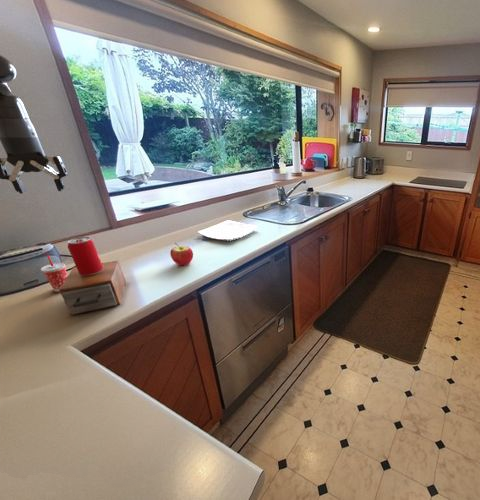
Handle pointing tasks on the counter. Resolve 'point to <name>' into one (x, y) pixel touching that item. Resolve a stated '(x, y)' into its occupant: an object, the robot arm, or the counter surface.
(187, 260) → the apple
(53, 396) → the counter surface
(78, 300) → the drawer
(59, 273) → the beverage cup
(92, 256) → the beverage can
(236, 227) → the plate
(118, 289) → the cabinet
